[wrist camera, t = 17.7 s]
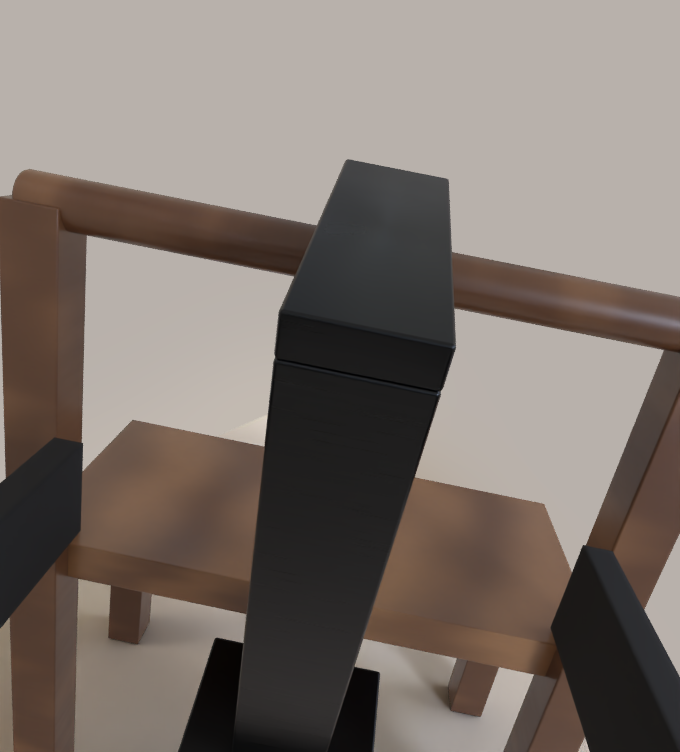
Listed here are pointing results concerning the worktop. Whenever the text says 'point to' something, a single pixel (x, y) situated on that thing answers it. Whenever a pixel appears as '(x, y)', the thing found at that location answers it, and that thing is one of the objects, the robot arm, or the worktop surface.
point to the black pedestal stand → (336, 466)
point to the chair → (244, 464)
